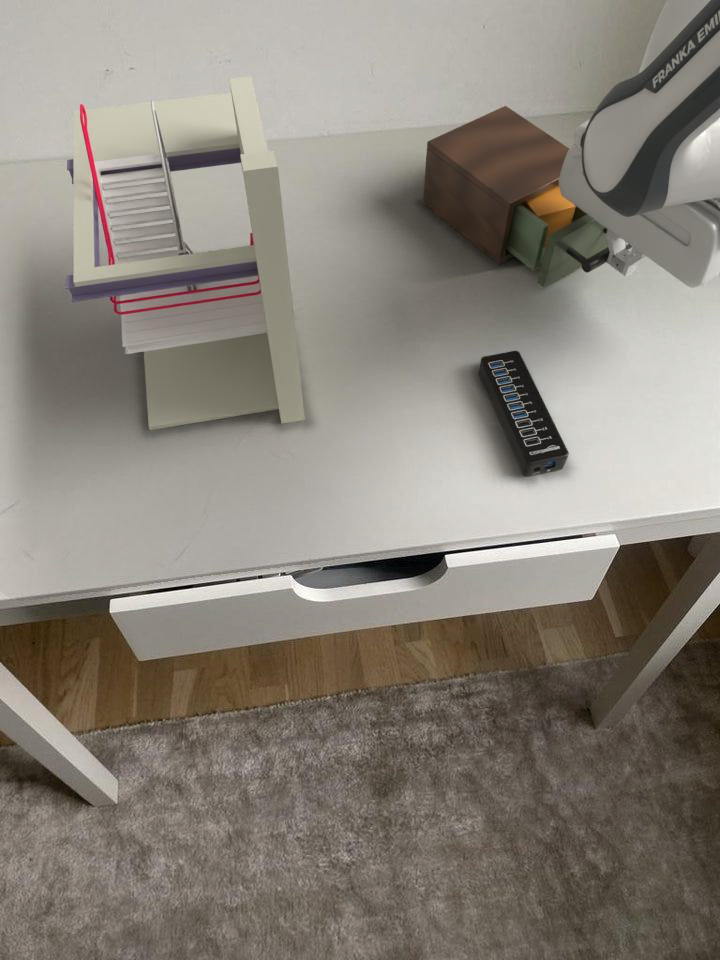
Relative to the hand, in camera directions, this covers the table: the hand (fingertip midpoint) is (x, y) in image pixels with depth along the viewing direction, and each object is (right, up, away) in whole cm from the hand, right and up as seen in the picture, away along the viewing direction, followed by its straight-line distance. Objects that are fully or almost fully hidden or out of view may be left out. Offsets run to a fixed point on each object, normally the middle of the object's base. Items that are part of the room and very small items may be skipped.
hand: (620, 267), depth 86 cm
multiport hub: (-13, -17, -5) cm, 22 cm away
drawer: (-6, +5, +8) cm, 11 cm away
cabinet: (-12, +11, +13) cm, 20 cm away
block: (-8, +6, +7) cm, 12 cm away
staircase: (-47, -8, +1) cm, 47 cm away
